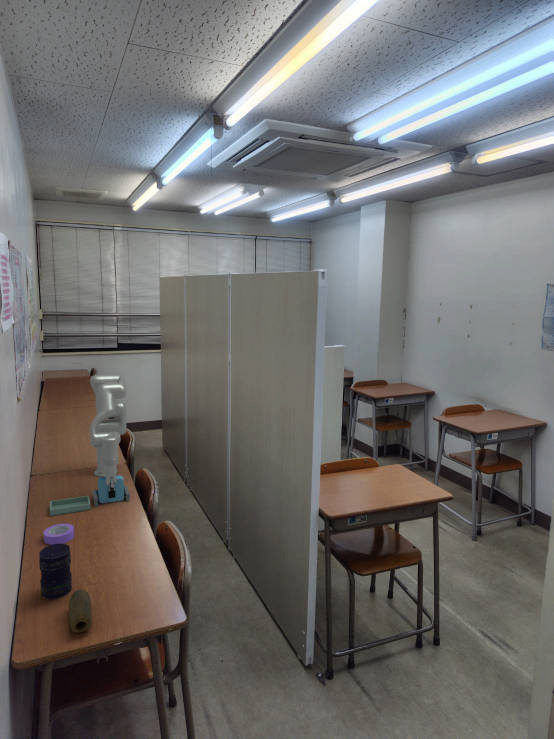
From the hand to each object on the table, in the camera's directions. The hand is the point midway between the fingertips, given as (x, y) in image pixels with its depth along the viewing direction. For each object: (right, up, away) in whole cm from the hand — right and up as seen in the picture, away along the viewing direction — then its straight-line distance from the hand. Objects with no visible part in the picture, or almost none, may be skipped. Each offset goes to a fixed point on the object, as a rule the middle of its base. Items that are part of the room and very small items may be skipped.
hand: (111, 495), depth 235 cm
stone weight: (+21, -17, -86) cm, 90 cm away
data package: (0, -3, +1) cm, 3 cm away
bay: (-1, -3, +2) cm, 3 cm away
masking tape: (-9, -9, -36) cm, 39 cm away
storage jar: (+6, -14, -72) cm, 73 cm away
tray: (-16, -4, -9) cm, 19 cm away
